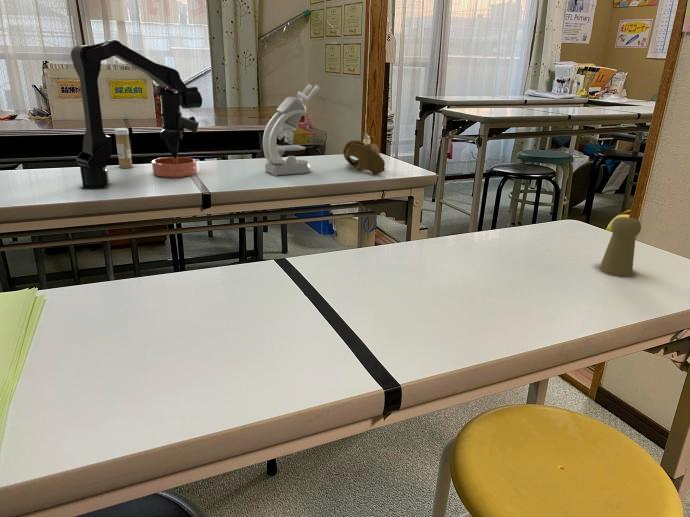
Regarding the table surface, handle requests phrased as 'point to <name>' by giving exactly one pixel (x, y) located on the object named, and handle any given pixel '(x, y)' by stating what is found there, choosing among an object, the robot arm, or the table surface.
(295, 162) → the microscope
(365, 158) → the brown looped sculpture
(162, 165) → the bowl
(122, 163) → the sprinkles bottle
